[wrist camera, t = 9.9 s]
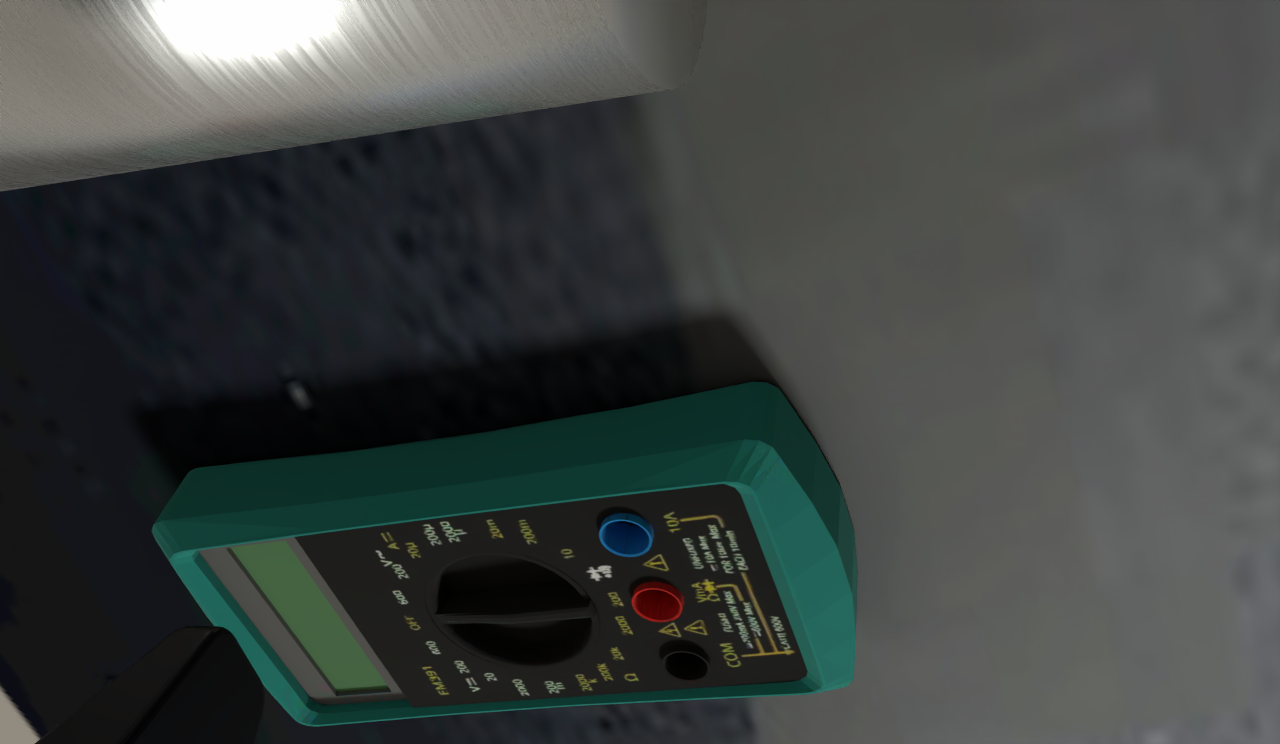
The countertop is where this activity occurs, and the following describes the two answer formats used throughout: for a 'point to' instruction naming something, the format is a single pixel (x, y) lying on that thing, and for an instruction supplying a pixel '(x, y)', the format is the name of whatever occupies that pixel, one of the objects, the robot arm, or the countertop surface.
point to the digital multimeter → (533, 564)
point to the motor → (304, 72)
